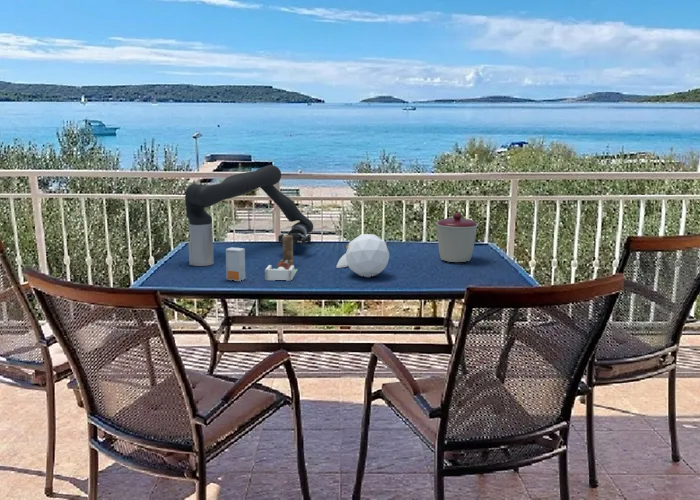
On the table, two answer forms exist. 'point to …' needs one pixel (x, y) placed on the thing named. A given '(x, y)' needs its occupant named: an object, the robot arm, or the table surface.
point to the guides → (289, 262)
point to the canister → (456, 238)
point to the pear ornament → (365, 255)
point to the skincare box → (235, 264)
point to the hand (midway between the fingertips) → (292, 241)
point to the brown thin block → (287, 251)
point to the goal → (279, 274)
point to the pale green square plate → (294, 271)
